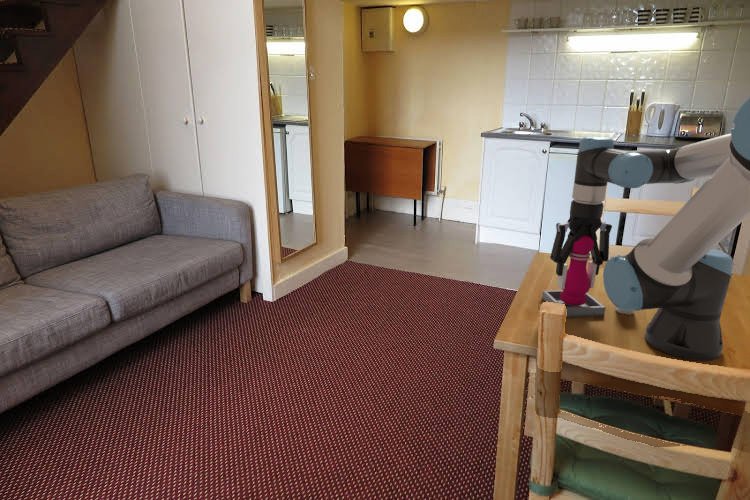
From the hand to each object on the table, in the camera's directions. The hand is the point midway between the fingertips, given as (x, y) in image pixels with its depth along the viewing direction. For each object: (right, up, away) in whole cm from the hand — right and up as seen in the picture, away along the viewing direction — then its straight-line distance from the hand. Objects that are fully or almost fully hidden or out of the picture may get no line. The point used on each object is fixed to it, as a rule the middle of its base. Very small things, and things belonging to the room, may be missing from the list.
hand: (575, 286), depth 130 cm
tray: (0, -6, +2) cm, 6 cm away
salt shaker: (+13, -6, 0) cm, 15 cm away
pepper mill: (0, -4, +1) cm, 4 cm away
